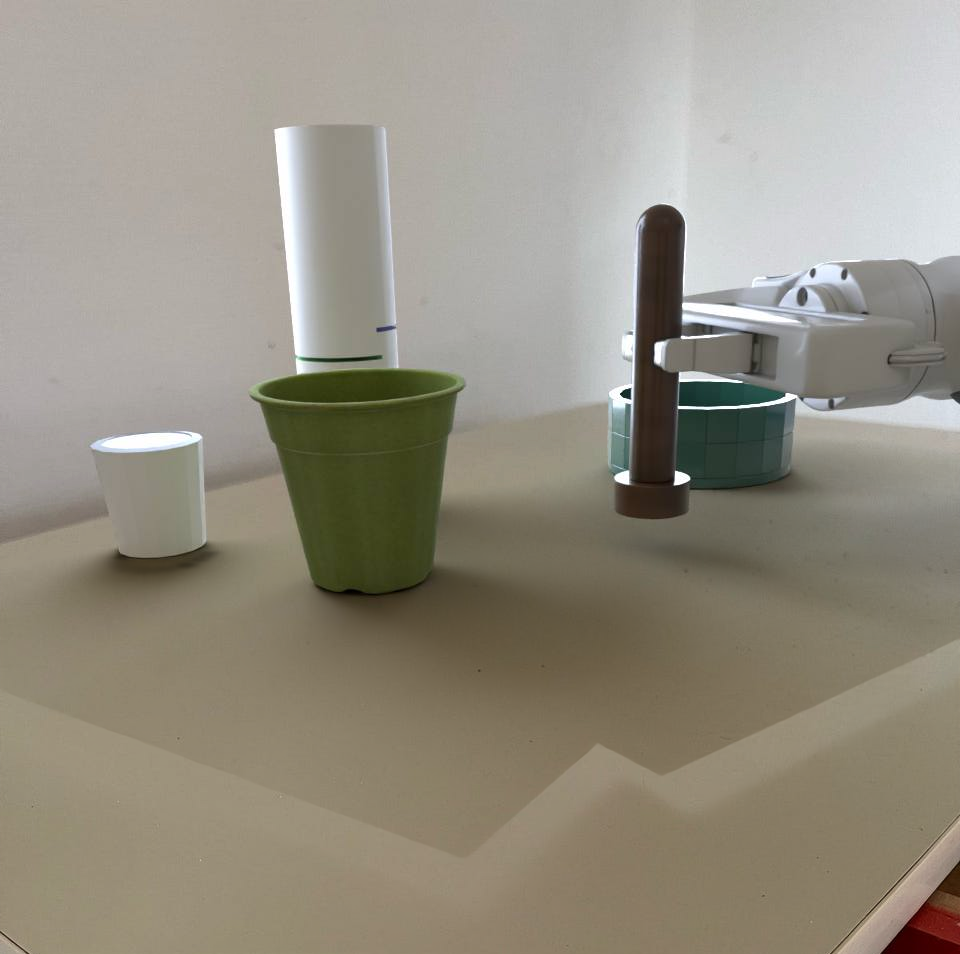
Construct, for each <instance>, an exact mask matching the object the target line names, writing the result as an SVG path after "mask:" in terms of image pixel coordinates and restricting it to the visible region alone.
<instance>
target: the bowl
mask: <svg viewBox="0 0 960 954" xmlns="http://www.w3.org/2000/svg"><path fill="white" fill-rule="evenodd" d="M607 398H608V401H607V447H606V449H607V453H606V454H607V467H608V470H609V471H610V473H611V474H613V475H614V476H616V475H617V474H619V473H622V472H626V471H629V452H630V415H631V384H628V385H627V384H626V385H624V386H620V387H617V388H613V390H611V391H610V392H609V393H608V397H607ZM797 398H798V396H795V395H791V394H787V393H783V392H779V391H775V390H771V389H767V388H763V387H759V386H755V385H751V384H747V383H743V382H739V381H735V380H731V379H680V383H679V405H678V428H677V450H676V471H677V472H681V473H684V474H686V475H688V476H689V477H690V489H696V490H698V489H700V490H701V489H702V490H706V489H707V490H708V489H709V490H711V489H712V490H713V489H714V490H715V489H733V488H734V489H735V488H744V487H752V486H758V485H763V484H768V483H772V482H775V481H779V480H781V479H782V478H783V479H784V478H785V477H786V476H788V474H789V473H790V472H791V465H792V464H791V463H792V455H793V454H792V453H793V443H794V442H793V441H794V431H795V418H796V409H797Z"/></svg>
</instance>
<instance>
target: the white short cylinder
mask: <svg viewBox="0 0 960 954" xmlns="http://www.w3.org/2000/svg"><path fill="white" fill-rule="evenodd" d="M90 450H91V453H92V457H93V461H94V464H95V468H96V472H97V476H98V478H99V483H100V487H101V490H102V494H103V497H104V501H105V504H106V509H107V512H108V517H109V521H110V523H111V528H112V531H113V535H114V538H115V543H116V545H117V550H118V552H119V554H121V555H124V556H126V557H130V558H140V559H152V558H165V557H172V556H179V555H183V554H186V553H189V552H193V551H195V550H197V549H199V548H201V547H203V546H204V545H205V544H206V543H207V522H206V497H205V495H206V493H205V472H204V470H205V468H204V466H205V465H204V443H203V436H202V435H200V434H199V433H196V432H191V431H183V430H182V431H181V430H148V431H147V430H146V431H139V432H130V433H125V434H118V435H114V436H110V437H105V438H102V439H99V440H96V441H95V442H93V443H92V444H90Z"/></svg>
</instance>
